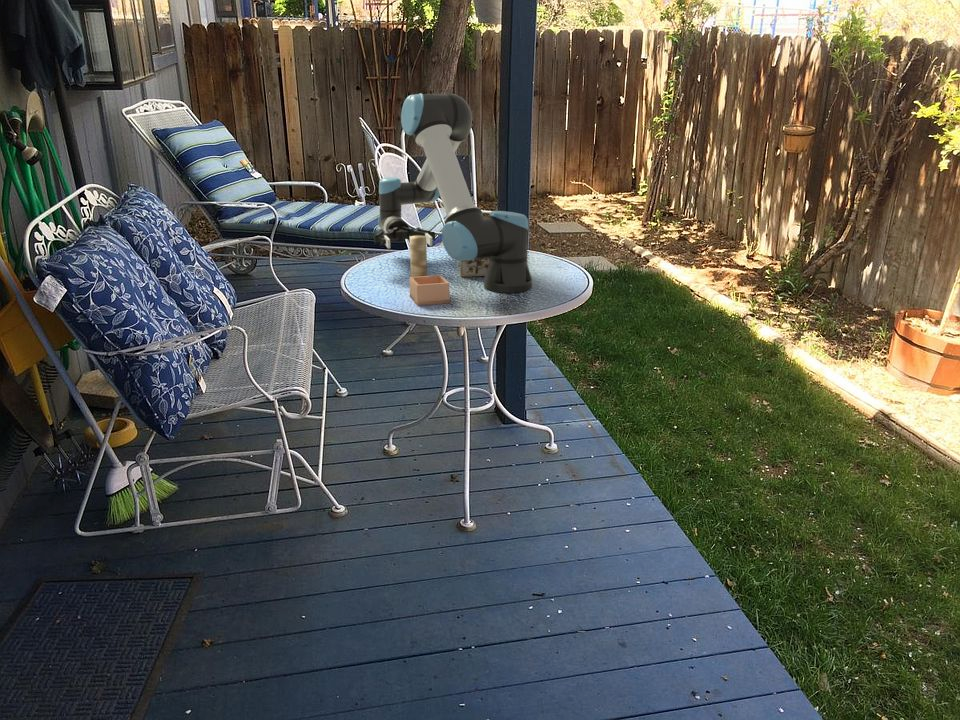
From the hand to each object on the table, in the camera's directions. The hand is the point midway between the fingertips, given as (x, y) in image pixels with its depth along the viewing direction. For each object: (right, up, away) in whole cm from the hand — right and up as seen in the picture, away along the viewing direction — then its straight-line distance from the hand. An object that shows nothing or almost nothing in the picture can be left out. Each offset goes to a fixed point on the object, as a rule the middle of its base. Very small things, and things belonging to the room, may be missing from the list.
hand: (410, 242), depth 236 cm
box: (+7, -19, -16) cm, 26 cm away
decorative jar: (+21, -8, +13) cm, 26 cm away
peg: (+3, -15, -5) cm, 16 cm away
